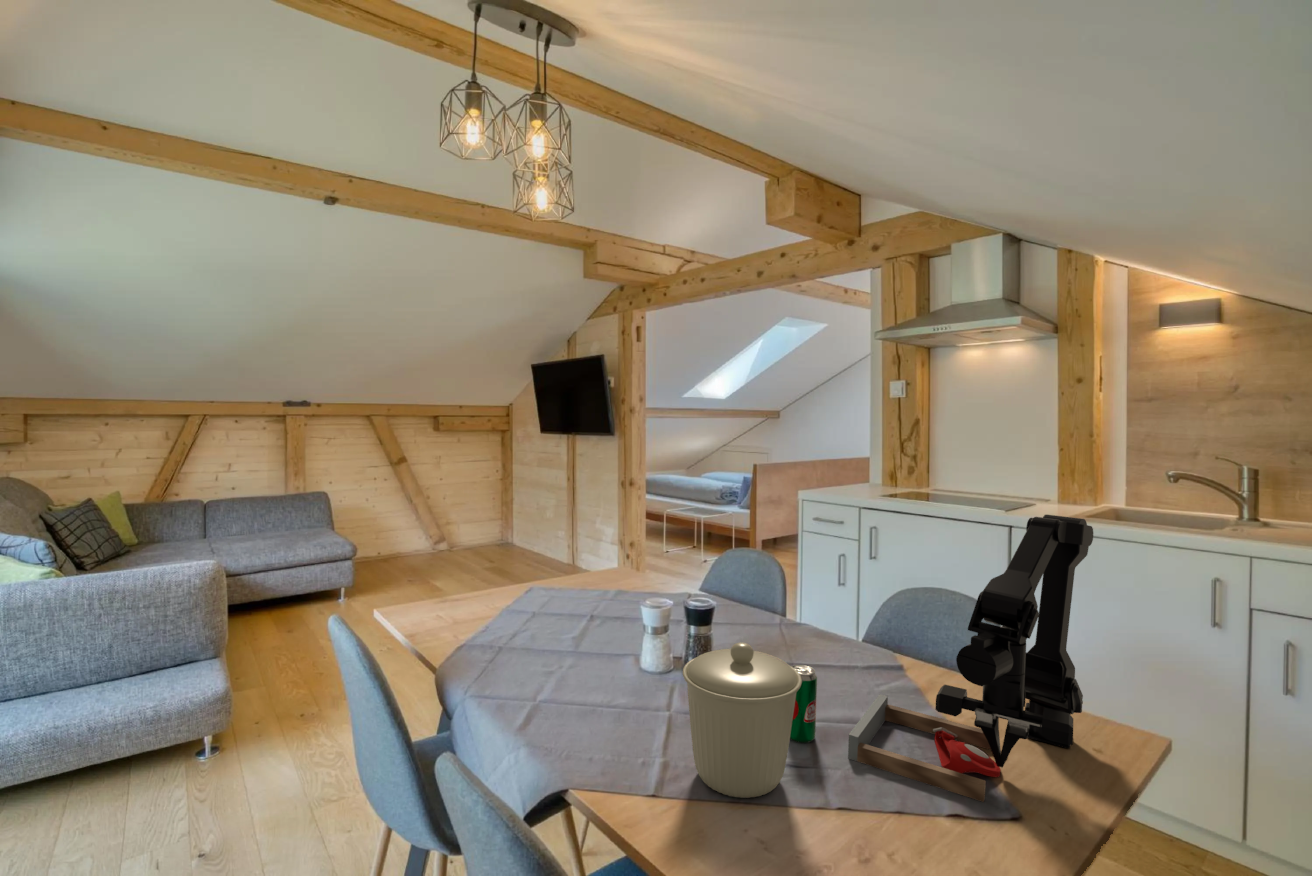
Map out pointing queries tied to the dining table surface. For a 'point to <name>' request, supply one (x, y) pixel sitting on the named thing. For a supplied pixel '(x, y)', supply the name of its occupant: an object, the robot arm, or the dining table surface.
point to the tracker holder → (963, 755)
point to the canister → (740, 718)
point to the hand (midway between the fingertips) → (1000, 765)
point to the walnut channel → (922, 769)
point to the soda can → (805, 706)
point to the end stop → (867, 726)
